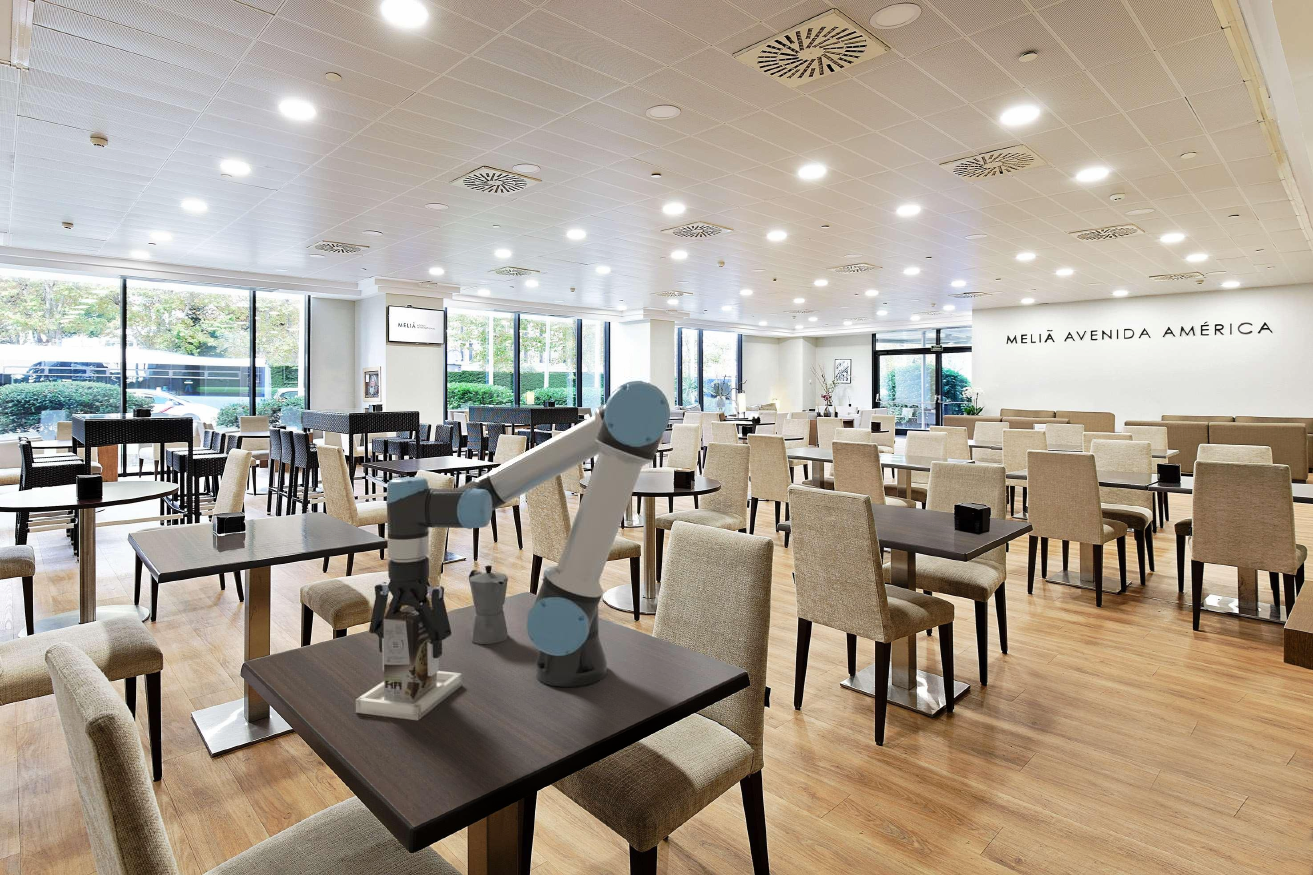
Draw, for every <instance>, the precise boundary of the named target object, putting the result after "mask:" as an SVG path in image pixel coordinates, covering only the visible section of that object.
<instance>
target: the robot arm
mask: <svg viewBox="0 0 1313 875" xmlns="http://www.w3.org/2000/svg"><path fill="white" fill-rule="evenodd" d="M670 416H671V408H670V404H669V401H668V399H667V397H666V395H665V393H663V391H662V390H661V388H659V387H658V386H656V385H654V384H651V383H650V382H647V381H642V380H633V381H628V382H625V383H623V384H621V385H620V386H618V387H616V389H615V390H614V391H612V393H611V394H610V396H609V397H608V399H607V400H606V403H603V405H601V406H599V407H597V408H596V410H595V412H594V414H593V415H592V416H591V417H590V416H589V417H588V418H586V419H585V420H583V421H580V423H577V424H576V425H574V426H572V427H570V428H568V429H566V430H564V431H562V432H560V433H559V434H557V435H555V436H553V437H551V438H549V439H548V440H546V441H544V442H541V443H540V444H538V445H536V446H534V447H533V448H530V449H529V450H527V451H526V452H523V453H521V454H520V455H518V456H516V457H514V458H512V459H511V460H509V461H507V462H505V463H503V464H501V465H499V466H498V467H495V468H493V469H492V470H490V471H487V473H484V474H482V475H480V476H479V477H477V478H475V479H473V480H470V481H469V482H467V483H466V484H463V485H460V486H458V487H456V488H430V486H429V483H428V480H427V479H426V478H425V477H417V476H416V477H415V476H412V477H408V476H407V477H397V478H394V479H393V478H392V479H391V480H390V481H389V482H387V486H386V487H387V488H386V489H387V490H386V502H385V505H386V517H387V518H386V519H387V521H386V522H387V558H389V560H388V562H387V569H388V570H387V572H388V573H387V574H388V579H389V582H386V581H383V582H381V583H378V584H376V585H375V586H374V593H375V594H374V596H375V598H374V604H373V608H372V614H371V619H370V624H369V629H368V630H369V631H368V632H369V633H370V634H375V635H377V637H378V651H379V653H381V654H382V656H381V657H382V672H384V620H383V619H384V618H386V617H388V616H390V615H392V614H394V613H396V612H398V611H400V610H402V607H404V606H407V607H408V606H411V607H414V609H415V611H417V612H418V614H419V616H421V620H422V622H423V624H424V626H425V628H426V631H427V633H428V635H429V637H430V639H431V641H429V642H428V643H427V656H428V676H432V675H434V674H435V673H437V672H438V671H440V668H439V667H440V664H439V663H440V661H439V660H440V659H439V658H441V657H442V655H443V641H444V640H445V639H448V638H449V637H451V636H452V629H451V625H450V620H449V616H448V612H447V608H446V603H445V598H444V595H445V587H444V586H443V585H441V586H438V587H437V586H433V585H432V586H431V584H430V581H429V576H430V558H429V557H428V555H429V554H430V553H429V552H430V550H429V549H430V547H429V546H430V545H429V543H430V541H429V537H430V536H429V534H430V532H429V528H431V529H434V528H438V529H439V528H440V529H441V528H442V529H443V528H445V529H447V528H448V529H450V528H451V529H452V528H454V529H468V530H472V529H477V528H479V529H480V528H485V527H487V526H488V525H489V524H490V522H491V519H492V516H493V511H494V510H496V509H498V508H500V507H502V506H503V505H505V504H508V503H509V502H511V501H512V500H514V499H517V498H519V497H520V496H522V495H523V494H525V493H528V492H529V491H530V492H531V490H534V489H535V488H538V487H540V486H541V485H543V484H544V483H546V482H548V481H551V480H553V479H554V478H557V476H560V475H562V474H564V473H565V472H568V471H569V470H571V469H573V468H575V467H577V466H579V465H582V464H583V463H585V462H587V461H588V460H590V459H593V458H594V457H596V456H597V458H596V461H595V463H594V466H593V469H592V471H591V474H590V476H589V479H588V481H587V484H586V487H585V490H584V493H583V494H582V498H581V501H580V502H579V503H580V504H579V506H578V509H577V512H576V514H575V517H574V520H573V521H572V522H573V523H572V525H571V528H570V530H569V533H568V536H567V537H566V541H565V544H564V546H563V549H562V552H561V554H560V557H559V560H558V562H557V565H554V566H549V567H546V568H545V569H544V570H543V575H542V582H541V585H540V588H539V591H538V593H537V596H536V599H535V601H534V604H533V605H532V606H531V607H530V609H529V611H528V613H527V615H526V616H527V617H526V632H527V635H528V637H529V640H530V641H531V642H532V644H533V645H534V646H535V647H536V648H537V649H538V650H539V652H538V655H537V658H536V662H535V677H536V679H537V680H538V681H539V682H541V683H544V684H546V685H549V686H554V687H564V688H569V687H572V688H573V687H582V686H586V685H590V684H594V683H596V682H599V681H600V680H602V679H603V678H605V676H606V675H607V673H608V671H607V670H608V666H607V664H608V662H607V658H606V656H605V652H604V649H603V646H602V642H601V641H600V637H599V634H600V633H599V604H600V602H601V599H602V596H603V593H604V590H603V588H602V586H601V584H600V580H601V577H602V573H603V572H604V569H605V566H606V563H607V561H608V558H609V556H610V553H611V550H612V547H613V545H614V542H615V540H616V537H617V534H618V532H619V529H620V527H621V524H622V521H623V519H624V516H625V513H626V510H627V508H628V505H629V502H630V499H631V497H632V494H633V492H634V490H635V487H636V484H637V481H638V478H639V476H640V473H641V470H642V469H643V467H644V466H645V465H648V464H650V463H652V462H653V461H654V459H655V456H656V453H657V451H658V448H659V445H660V443H661V440H662V437H663V436H664V433H665V432H666V430H667V428H668V426H669V423H670V420H671V419H670V418H671V417H670ZM389 593H390V594H391V595H392V599H391V601H390V602H389V605H388V609H387V604H388V601H389V600H388V599H389ZM427 595H429V598H428V596H427ZM429 599H430V600H429ZM430 607H432V608H433V612H434V614H433V612H432V610H431V608H430ZM386 609H387V611H386Z"/></svg>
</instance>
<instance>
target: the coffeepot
mask: <svg viewBox="0 0 1313 875" xmlns="http://www.w3.org/2000/svg"><path fill="white" fill-rule="evenodd" d="M492 567H493V566H492V565H485V566H484V568H485V572H482V571H480V570H477V569H472V570H471V571H470V572H469V575H468V581H469V585H470V591H471V597H472V603H473V605H474V613H473V617H472V623H471V629H470V630H471V632H470V640H471V642H472V643H475V644H478V645H493V644H499V643H501V642H504V641H505V640H507V639H508V638H509V634H508V627H507V623H506V621H507V620H506V617H505V612H504V605H505V603H506V596H507V594H506V593H507V588H508V582H509V581H508V580H509V578H508V576H507V575H506V573H498V572H497V573H496V572H492Z"/></svg>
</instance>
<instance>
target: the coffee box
mask: <svg viewBox="0 0 1313 875" xmlns="http://www.w3.org/2000/svg"><path fill="white" fill-rule="evenodd" d="M430 608H431V610H432V612H433V608H432V606H430ZM433 614H434V612H433ZM383 620H384V671H383V682H384V700H385V701H394V702H402V703H410V704H413V703H414V702H416V701H417V700H418V699H420V698H421V697H422V696H424V695H425V694H426V693H427V692H429V691H430V690H431V689H433V688H434V687H435V686H437V673H435V674H434V675H432V676H428V656H427V643H428V642H429V641H431V639H430V637H429V635H428V633H427V631H426V628H425V626H424V624H423V622H422V620H421V616H419V614H418V612H417V611H415V609H414V607H411V606H408V605H407V606H406V607H403V608H401V609H400V611H398V612H396V613H394V614H392V615H390V616H388V617H386V618H385V617H384V619H383Z"/></svg>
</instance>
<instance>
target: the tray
mask: <svg viewBox="0 0 1313 875" xmlns="http://www.w3.org/2000/svg"><path fill="white" fill-rule="evenodd" d="M462 686H463V674H462V673H459V672H451V671H443V670H442V671H441V670H439V671H438V672H437V686H435V687H434V688H433V689H431V690H430V691H429V692H427V693H426V694H425V695H424V696H422V697H421V698H420V699H418V700H417V701H416V702H414V703H413V704H410V703H402V702H394V701H385V700H384V681H381V683H379V684H377V685H376V686H375V687H373V688H371V689H370V690H368V691H366V692H365V693H363V694H362V695H361V696H359V697H358V698H355V714H357V713H358V714H365V715H373V716H379V717H381V716H382V717H387V718H388V717H389V718H395V719H396V718H397V719H405V720H412V721H419V720H420V719H421V718H423V717H424V716H425V715H427V714H428V713H430V712H431V711H432V710H433V709H434V708H435V707H436V706H438V705H439V704H440V703H441V702H443V701H444V700H445V699H447V698H448V697H449V696H451V695H452V694H453V693H454V692H455V691H458V689H459V688H461V687H462Z"/></svg>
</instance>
